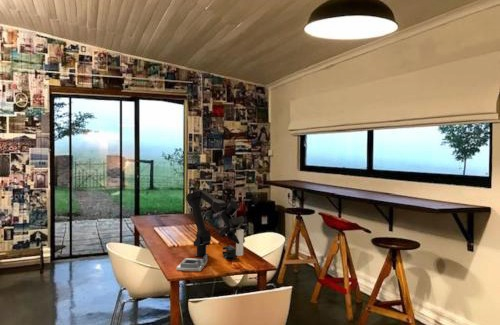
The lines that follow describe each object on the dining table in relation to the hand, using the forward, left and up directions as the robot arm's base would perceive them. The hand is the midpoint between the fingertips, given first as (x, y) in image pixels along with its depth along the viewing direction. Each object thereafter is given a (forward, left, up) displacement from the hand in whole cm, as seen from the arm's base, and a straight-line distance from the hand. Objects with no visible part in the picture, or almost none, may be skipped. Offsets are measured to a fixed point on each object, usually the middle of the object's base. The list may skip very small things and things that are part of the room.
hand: (241, 242), depth 225 cm
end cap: (-16, -13, -14) cm, 25 cm away
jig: (+8, -26, -13) cm, 30 cm away
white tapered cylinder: (-1, -1, -7) cm, 7 cm away
